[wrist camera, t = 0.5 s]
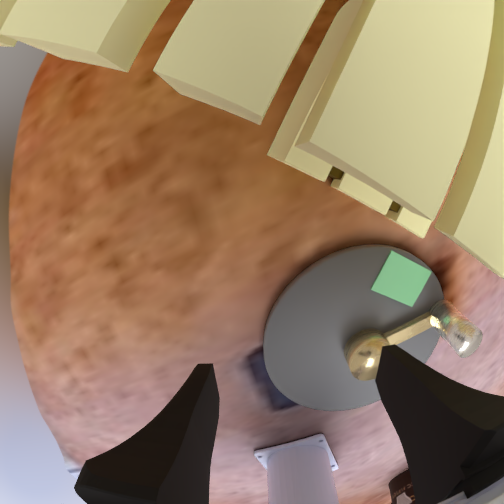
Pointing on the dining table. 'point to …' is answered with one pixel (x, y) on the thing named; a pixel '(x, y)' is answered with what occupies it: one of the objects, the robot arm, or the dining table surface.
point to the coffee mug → (402, 489)
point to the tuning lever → (439, 317)
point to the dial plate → (345, 322)
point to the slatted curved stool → (331, 92)
